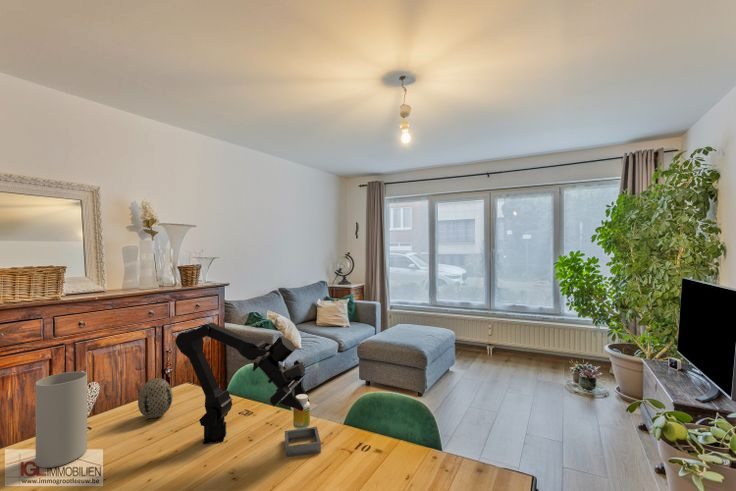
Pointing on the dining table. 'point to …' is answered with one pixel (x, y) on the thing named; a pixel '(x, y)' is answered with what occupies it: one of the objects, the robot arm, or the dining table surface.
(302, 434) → the collar
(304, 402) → the supplement bottle
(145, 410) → the decorative egg
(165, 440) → the dining table surface
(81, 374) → the cylinder vase
